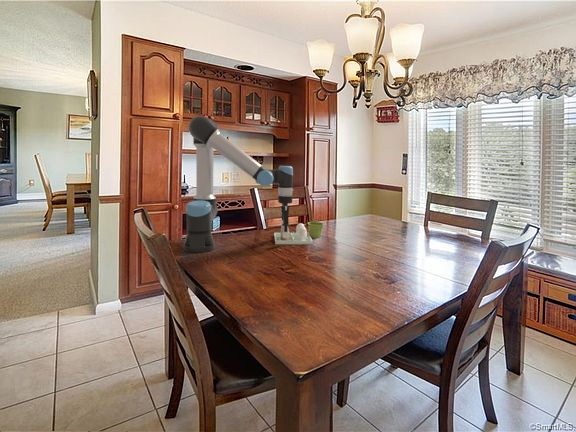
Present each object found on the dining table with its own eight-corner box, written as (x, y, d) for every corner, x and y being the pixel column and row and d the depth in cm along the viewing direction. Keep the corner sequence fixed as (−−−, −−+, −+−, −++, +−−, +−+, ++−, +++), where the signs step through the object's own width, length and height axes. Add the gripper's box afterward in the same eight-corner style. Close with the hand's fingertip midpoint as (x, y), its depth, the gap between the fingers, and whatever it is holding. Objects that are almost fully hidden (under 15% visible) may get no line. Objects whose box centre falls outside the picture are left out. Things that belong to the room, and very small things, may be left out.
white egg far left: (296, 238, 193) (297, 224, 192) (295, 236, 198) (296, 222, 197) (304, 238, 194) (305, 224, 192) (303, 236, 198) (304, 222, 197)
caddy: (275, 245, 180) (275, 240, 180) (274, 236, 200) (274, 232, 199) (312, 245, 182) (312, 240, 181) (307, 237, 201) (308, 232, 201)
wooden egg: (280, 242, 183) (280, 227, 182) (280, 240, 188) (280, 225, 186) (289, 242, 184) (289, 227, 182) (288, 240, 188) (288, 225, 187)
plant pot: (323, 236, 204) (324, 222, 202) (323, 240, 195) (324, 225, 193) (307, 235, 205) (308, 221, 203) (306, 239, 196) (307, 224, 194)
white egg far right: (298, 242, 184) (298, 227, 183) (297, 240, 189) (297, 226, 187) (306, 242, 184) (307, 227, 183) (305, 240, 189) (306, 226, 187)
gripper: (294, 198, 169) (293, 240, 173) (290, 193, 194) (289, 229, 198) (279, 198, 169) (278, 240, 173) (277, 192, 193) (276, 229, 197)
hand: (284, 234), depth 185 cm, fingers open, 13 cm apart
